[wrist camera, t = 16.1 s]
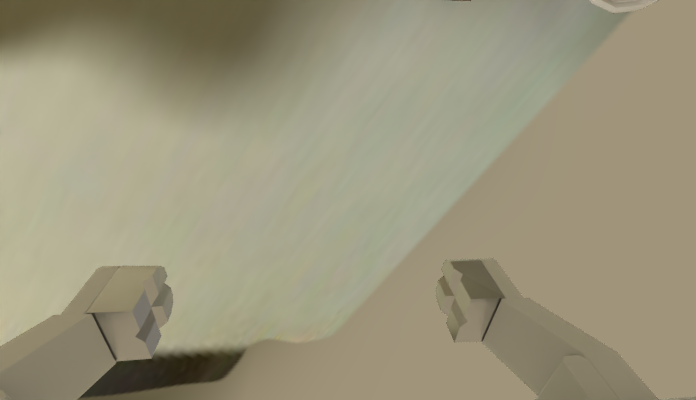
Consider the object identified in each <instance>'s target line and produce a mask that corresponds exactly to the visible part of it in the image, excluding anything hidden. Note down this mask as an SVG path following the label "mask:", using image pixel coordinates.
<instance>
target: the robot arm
mask: <svg viewBox="0 0 696 400" xmlns="http://www.w3.org/2000/svg"><path fill="white" fill-rule="evenodd" d="M441 270H442V272H443V274H444V276H443V277H441V278H440V279H439V280H438V284H437V287H436V297H437V301H438V305H439V307H440V310H441V311H442V312H443V313H444V314H446V315H447V316H448V319H447V322H446V324H447V326H448V328H449V331H450V333H451V335H452V338H453V340H454V342H482V343H483V345H485V346H486V347H487V348H488V349H489V350H490V351H491V352H492V353H493V354H494V355H495V356H496V357H497V358H498V359H499V360H501V362H503V363H504V364H505V365H506V366H507V367H508V368H509V369H510V370H511V371H512V372H513V373H514V374H515V375H516V376H517V377H519V378H520V379H521V380H522V381H523V382H524V383H525V384H526V385H527V386H528V387H529V388H530V389H531V390H532V391H533V392H534V393H535V394H537V395H538V396H537V398H536V399H535V400H659V399H658V398H657V397H656V396H655V395H654V393H653V392H652V391H651V390H650V389H649V388H648V387H647V386H646V384H645V383H644V382H643V381H642V380H641V379H640V378H639V376H638V375H637V374H636V373H635V372H634V371H633V369H632V368H631V367H630V366H629V365H628V364H627V363H626V361H625V360H624V359H623V358H622V357H621V356H620V355H619V354H618V352H617V351H615V350H613V349H612V348H610V347H608V346H607V345H605V344H603V343H602V342H600V341H598V340H597V339H595V338H594V337H592V336H590V335H589V334H587V333H585V332H584V331H582V330H581V329H579V328H577V327H576V326H574V325H572V324H571V323H569V322H567V321H566V320H564V319H563V318H561V317H559V316H557V315H556V314H554V313H553V312H551V311H549V310H548V309H546V308H545V307H543V306H541V305H540V304H538V303H536V302H535V301H533V300H531V299H530V298H524V297H523V296H522V295H521V293H520V292H519V291H518V289H517V288H516V287H515V285H514V284H513V283H512V281H511V280H510V278H509V277H508V276H507V274H506V273H505V271H504V270H503V269H502V267H501V266H500V265H499V263H498V262H497V261H496V260H495V259H493V258H490V259H489V258H488V259H467V260H466V259H463V260H445V262H444V263H443V266H442V269H441ZM166 278H167V274H166V271H165V268H164V267H162V266H102V267H100V268H98V269H97V270H96V271H95V272H94V273H93V275H92V276H91V277H90V278H89V280H88V281H87V282H86V283H85V285H84V286H83V287H82V288H81V290H80V291H79V292H78V293H77V295H76V296H75V297H74V299H73V300H72V301H71V302H70V304H69V305H68V306H67V307H66V309H65V310H64V311H63V312H62V314H61V315H53V316H51V317H50V318H48V319H46V320H45V321H43V322H41V323H40V324H38V325H36V326H34V327H33V328H31V329H29V330H28V331H26V332H24V333H23V334H21V335H19V336H17V337H16V338H14V339H12V340H11V341H9V342H7V343H5V344H4V345H2V346H0V400H77V399H78V398H79V397H80V396H81V395H82V394H83V393H85V392H86V391H87V390H88V389H89V388H90V387H91V386H92V385H93V384H94V383H95V382H96V381H97V380H99V379H100V378H101V377H102V376H103V375H104V374H105V373H106V372H107V371H108V370H109V369H110V368H111V367H112V366H114V365H115V364H116V361H125V360H137V359H150V358H152V356H153V354H154V351H155V349H156V347H157V345H158V342H159V340H160V338H161V333H160V330H159V328H160V327H162V326H163V325H164V324H165V323H167V322H168V319H169V317H170V315H171V311H172V306H173V294H172V290H171V288H170V287H169V286H168V285H166V284H165V283H164V282H165V280H166ZM660 400H696V397H685V398H672V399H660Z"/></svg>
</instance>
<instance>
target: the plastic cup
mask: <svg viewBox="0 0 696 400" xmlns="http://www.w3.org/2000/svg"><path fill="white" fill-rule="evenodd" d="M589 1H590V2H591V3H593V4H595V5H597V6H599V7H601V8H603V9H605V10H607V11H609V12H612V13H620V12H629V11H637V10H641V9H643V8H645V7H647V6H649V5H651V4H652V3H654V2H656V1H658V0H589Z"/></svg>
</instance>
